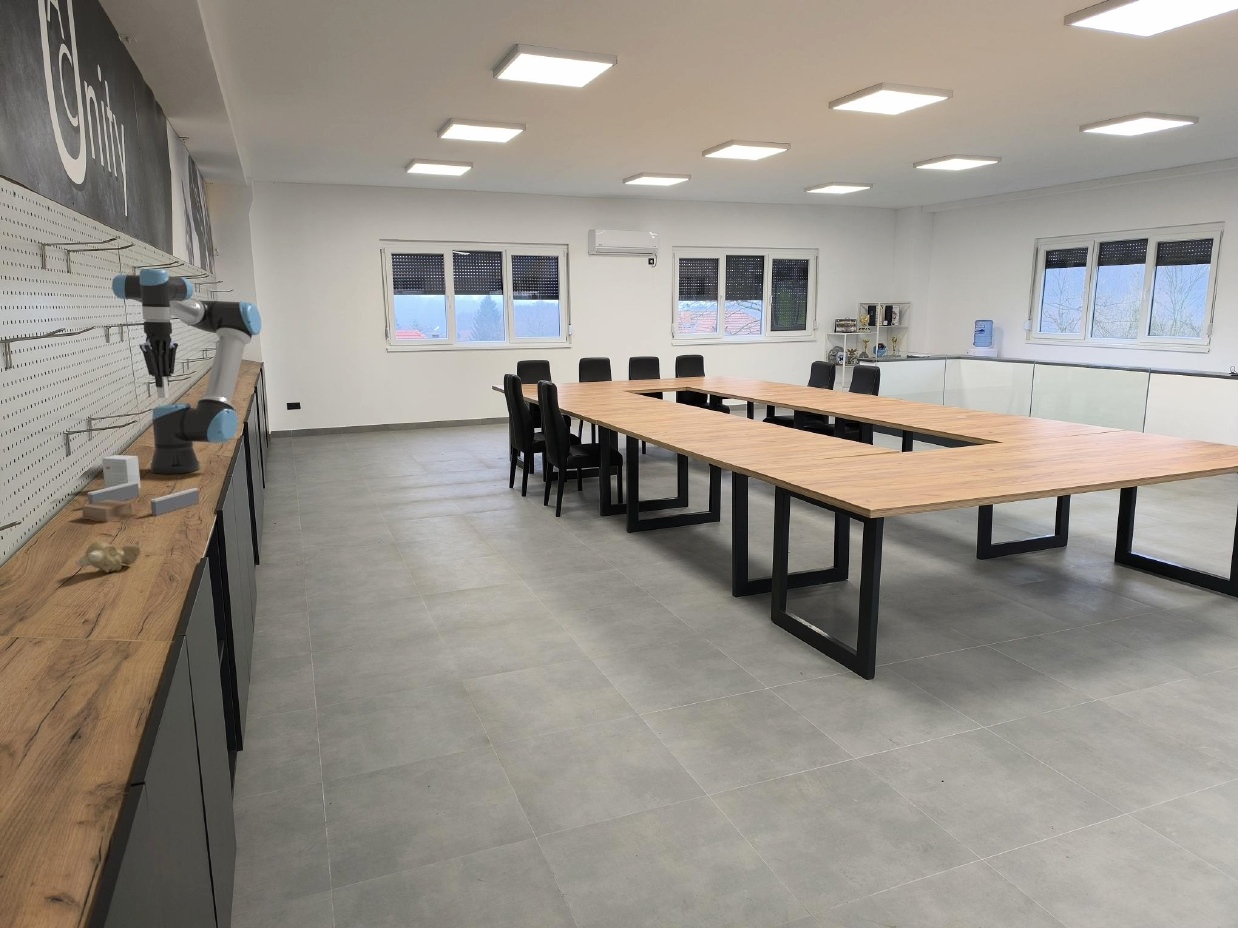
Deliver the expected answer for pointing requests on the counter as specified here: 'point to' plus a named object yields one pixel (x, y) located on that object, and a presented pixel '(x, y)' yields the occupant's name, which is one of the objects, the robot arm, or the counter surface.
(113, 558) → the beige lumpy piece
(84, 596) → the counter surface
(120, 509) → the walnut block
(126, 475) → the small box
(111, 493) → the corridor walls
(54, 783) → the counter surface
